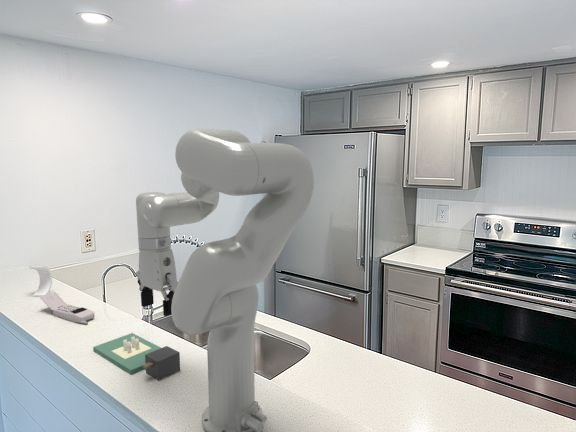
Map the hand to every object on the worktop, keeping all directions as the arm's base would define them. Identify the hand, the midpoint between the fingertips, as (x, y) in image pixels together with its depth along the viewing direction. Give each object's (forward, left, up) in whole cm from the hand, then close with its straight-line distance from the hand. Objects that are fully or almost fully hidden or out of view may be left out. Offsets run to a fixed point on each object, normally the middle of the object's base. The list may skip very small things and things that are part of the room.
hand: (158, 309), depth 106 cm
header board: (+14, 0, -17) cm, 22 cm away
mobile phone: (+57, -1, -17) cm, 59 cm away
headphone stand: (+86, -4, -17) cm, 88 cm away
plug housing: (-1, 0, -17) cm, 17 cm away
